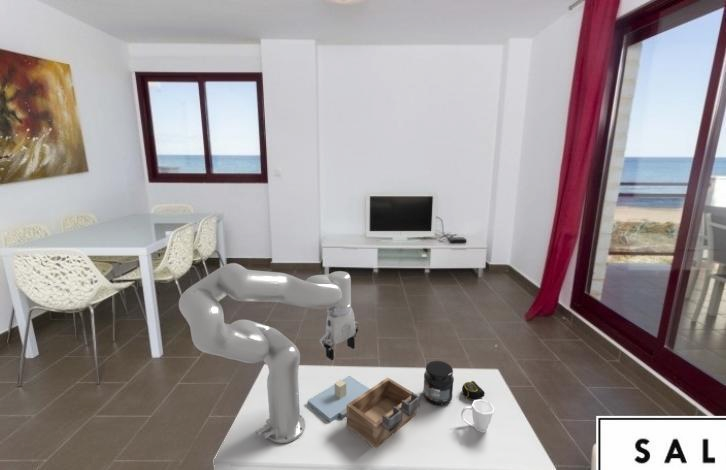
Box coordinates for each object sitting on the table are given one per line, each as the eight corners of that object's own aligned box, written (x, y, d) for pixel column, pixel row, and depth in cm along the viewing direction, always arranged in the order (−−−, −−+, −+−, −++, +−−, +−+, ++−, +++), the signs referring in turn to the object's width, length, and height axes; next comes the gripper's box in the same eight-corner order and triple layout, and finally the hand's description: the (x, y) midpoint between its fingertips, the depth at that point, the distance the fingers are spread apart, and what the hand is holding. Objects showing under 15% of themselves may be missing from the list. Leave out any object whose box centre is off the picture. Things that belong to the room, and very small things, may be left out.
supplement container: (443, 385, 137) (445, 357, 134) (457, 404, 128) (460, 374, 125) (418, 390, 135) (419, 361, 132) (430, 409, 125) (432, 379, 122)
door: (333, 425, 118) (333, 408, 116) (307, 403, 127) (307, 388, 126) (375, 396, 131) (375, 380, 130) (349, 378, 141) (349, 364, 139)
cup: (493, 437, 113) (496, 415, 111) (461, 432, 115) (463, 411, 113) (490, 420, 120) (492, 400, 118) (459, 416, 122) (461, 396, 120)
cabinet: (383, 455, 106) (384, 425, 104) (346, 425, 118) (346, 398, 115) (423, 420, 120) (425, 393, 118) (387, 396, 131) (387, 371, 129)
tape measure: (485, 399, 130) (486, 390, 129) (468, 403, 128) (469, 394, 127) (473, 387, 137) (474, 379, 136) (458, 391, 134) (458, 382, 134)
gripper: (327, 320, 113) (328, 367, 117) (365, 303, 124) (365, 347, 129) (312, 312, 118) (314, 358, 122) (351, 296, 130) (351, 339, 134)
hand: (340, 352), depth 125 cm, fingers open, 9 cm apart
